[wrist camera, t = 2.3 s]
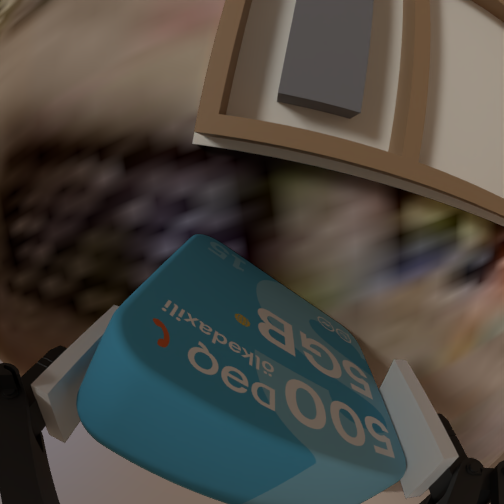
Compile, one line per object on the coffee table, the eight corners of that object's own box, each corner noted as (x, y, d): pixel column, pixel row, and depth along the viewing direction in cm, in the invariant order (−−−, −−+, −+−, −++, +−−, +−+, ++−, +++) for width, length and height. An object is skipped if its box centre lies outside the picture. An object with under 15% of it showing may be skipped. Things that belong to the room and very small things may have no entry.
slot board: (196, 144, 16) (182, 140, 13) (254, -74, 11) (252, -96, 8) (505, 227, 16) (529, 236, 13) (514, 25, 11) (532, 17, 8)
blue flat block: (355, 332, 19) (417, 483, 7) (311, 377, 20) (333, 528, 8) (200, 226, 17) (89, 333, 6) (163, 284, 19) (58, 417, 7)
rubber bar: (276, 101, 14) (277, 92, 13) (306, -50, 11) (309, -68, 9) (349, 118, 14) (360, 112, 13) (367, -35, 11) (375, -50, 9)
